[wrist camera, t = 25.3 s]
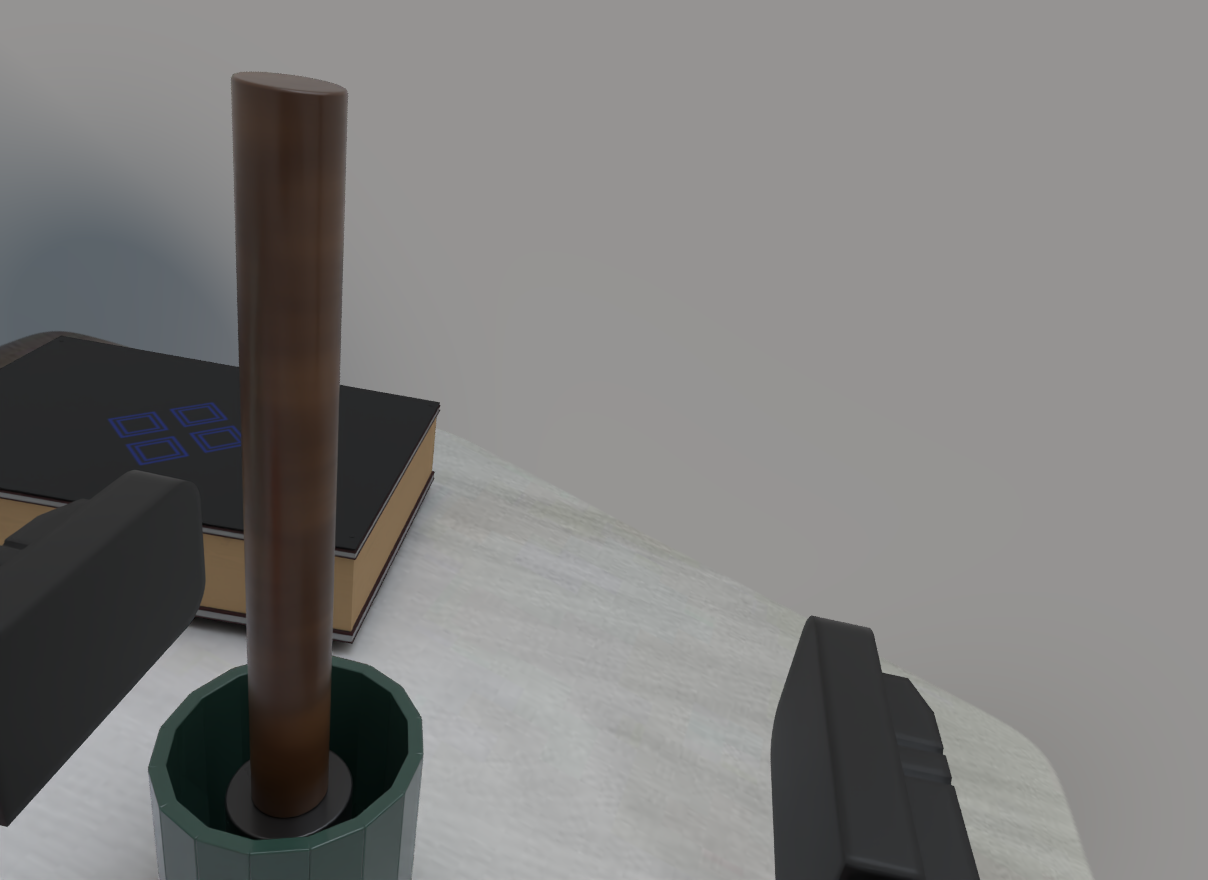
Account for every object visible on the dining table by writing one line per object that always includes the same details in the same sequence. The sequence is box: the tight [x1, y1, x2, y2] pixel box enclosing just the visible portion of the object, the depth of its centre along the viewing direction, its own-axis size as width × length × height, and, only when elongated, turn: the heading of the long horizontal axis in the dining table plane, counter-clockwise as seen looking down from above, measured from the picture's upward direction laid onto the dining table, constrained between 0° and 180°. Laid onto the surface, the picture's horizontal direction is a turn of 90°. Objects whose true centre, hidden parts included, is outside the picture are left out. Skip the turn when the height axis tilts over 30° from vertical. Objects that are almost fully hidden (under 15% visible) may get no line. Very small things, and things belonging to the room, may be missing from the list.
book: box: [0, 336, 440, 644], centre depth 51 cm, size 17×25×7 cm
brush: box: [225, 72, 353, 840], centre depth 25 cm, size 4×4×28 cm
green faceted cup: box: [148, 656, 423, 880], centre depth 30 cm, size 8×8×9 cm
